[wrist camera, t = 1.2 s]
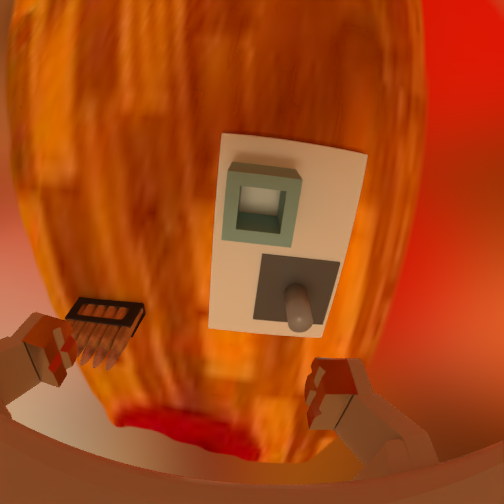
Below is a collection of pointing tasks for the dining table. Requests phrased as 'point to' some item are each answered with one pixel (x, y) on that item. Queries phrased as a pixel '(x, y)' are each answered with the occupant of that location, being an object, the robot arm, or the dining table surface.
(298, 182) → the collar
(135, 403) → the dining table surface
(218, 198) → the post board
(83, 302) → the ammunition clip
